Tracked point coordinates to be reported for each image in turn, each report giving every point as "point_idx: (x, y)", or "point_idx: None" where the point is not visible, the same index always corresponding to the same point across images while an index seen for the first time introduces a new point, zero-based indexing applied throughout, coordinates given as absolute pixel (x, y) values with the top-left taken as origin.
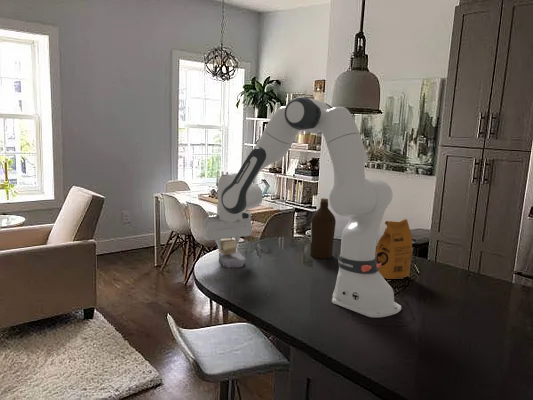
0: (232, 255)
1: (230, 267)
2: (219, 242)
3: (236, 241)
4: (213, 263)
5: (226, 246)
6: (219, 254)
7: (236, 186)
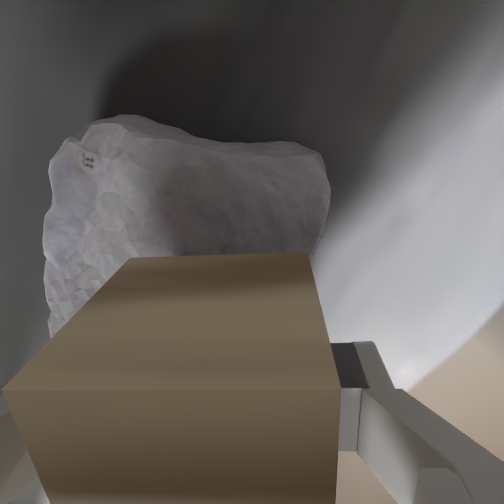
0: None
1: (260, 142)
2: (441, 451)
3: (3, 435)
4: (346, 316)
5: (282, 322)
6: None
7: None
